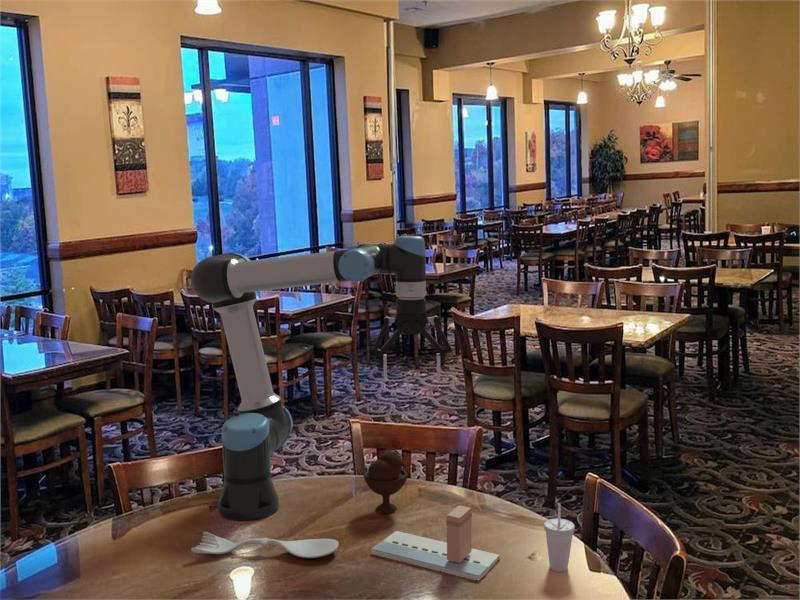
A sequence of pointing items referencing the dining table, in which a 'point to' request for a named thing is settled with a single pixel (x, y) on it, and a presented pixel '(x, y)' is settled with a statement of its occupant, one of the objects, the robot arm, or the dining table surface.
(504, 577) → the dining table surface
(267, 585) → the dining table surface
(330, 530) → the dining table surface
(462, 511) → the small tan carton
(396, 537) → the board
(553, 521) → the smoothie
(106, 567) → the dining table surface
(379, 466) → the ice cream bowl
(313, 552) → the spoon
